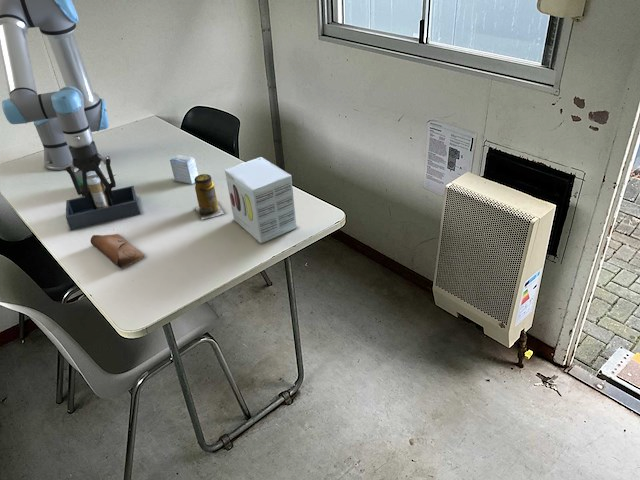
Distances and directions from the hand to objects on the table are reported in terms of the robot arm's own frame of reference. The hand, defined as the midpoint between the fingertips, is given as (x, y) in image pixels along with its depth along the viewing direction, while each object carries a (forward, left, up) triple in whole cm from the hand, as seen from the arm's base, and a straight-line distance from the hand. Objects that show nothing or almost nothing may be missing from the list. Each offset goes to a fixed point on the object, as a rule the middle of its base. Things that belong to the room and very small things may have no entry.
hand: (103, 208), depth 168 cm
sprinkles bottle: (0, 0, -2) cm, 2 cm away
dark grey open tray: (0, 0, -2) cm, 2 cm away
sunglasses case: (+26, +2, -2) cm, 26 cm away
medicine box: (-11, +29, -2) cm, 31 cm away
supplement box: (+31, +46, -2) cm, 56 cm away
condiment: (+15, +32, -2) cm, 35 cm away
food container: (-19, -2, -2) cm, 19 cm away
